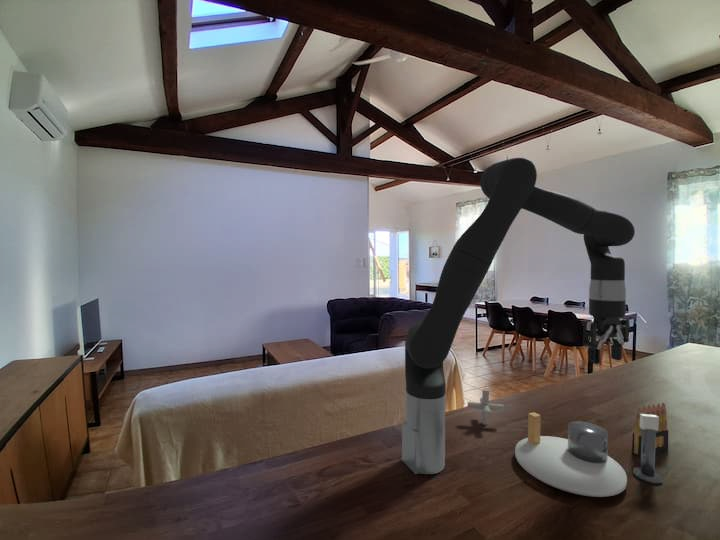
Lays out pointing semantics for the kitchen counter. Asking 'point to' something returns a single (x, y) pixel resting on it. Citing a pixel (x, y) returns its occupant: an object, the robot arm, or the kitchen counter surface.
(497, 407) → the pipe connector
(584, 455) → the cover
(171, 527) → the kitchen counter surface
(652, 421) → the stand
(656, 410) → the ammunition clip
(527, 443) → the platter
